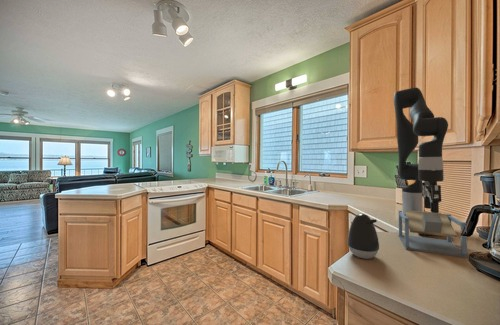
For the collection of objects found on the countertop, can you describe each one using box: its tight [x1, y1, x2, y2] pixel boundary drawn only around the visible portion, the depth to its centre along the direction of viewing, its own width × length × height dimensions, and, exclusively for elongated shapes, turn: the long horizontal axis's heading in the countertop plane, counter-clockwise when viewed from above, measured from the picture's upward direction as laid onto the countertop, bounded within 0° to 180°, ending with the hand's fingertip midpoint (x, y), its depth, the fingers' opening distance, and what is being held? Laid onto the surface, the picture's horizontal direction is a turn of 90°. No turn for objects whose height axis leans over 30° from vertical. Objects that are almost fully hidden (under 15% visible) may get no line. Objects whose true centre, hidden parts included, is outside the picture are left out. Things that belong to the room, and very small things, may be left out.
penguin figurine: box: [346, 213, 380, 260], centre depth 78 cm, size 10×10×15 cm
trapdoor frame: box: [397, 210, 469, 259], centre depth 87 cm, size 17×18×12 cm
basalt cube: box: [421, 213, 443, 233], centre depth 83 cm, size 5×5×5 cm
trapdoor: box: [404, 210, 458, 238], centre depth 88 cm, size 14×15×4 cm
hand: (431, 210), depth 84 cm, fingers open, 8 cm apart
